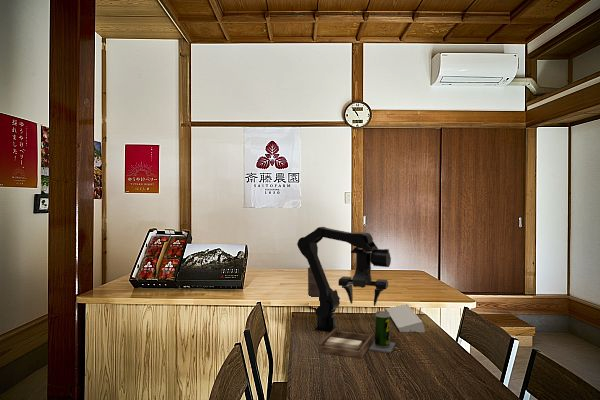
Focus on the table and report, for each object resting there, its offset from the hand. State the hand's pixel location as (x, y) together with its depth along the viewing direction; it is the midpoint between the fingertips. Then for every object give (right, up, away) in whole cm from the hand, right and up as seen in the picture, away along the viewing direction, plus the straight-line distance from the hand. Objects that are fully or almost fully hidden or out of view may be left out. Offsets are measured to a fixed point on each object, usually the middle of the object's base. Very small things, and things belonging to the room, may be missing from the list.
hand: (362, 304), depth 176 cm
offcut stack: (-9, -12, -18) cm, 23 cm away
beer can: (+5, -12, -14) cm, 19 cm away
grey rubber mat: (+5, -12, -14) cm, 19 cm away
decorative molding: (+21, -13, +22) cm, 33 cm away
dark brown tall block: (-17, -11, +41) cm, 46 cm away
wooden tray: (-7, -12, -13) cm, 19 cm away
